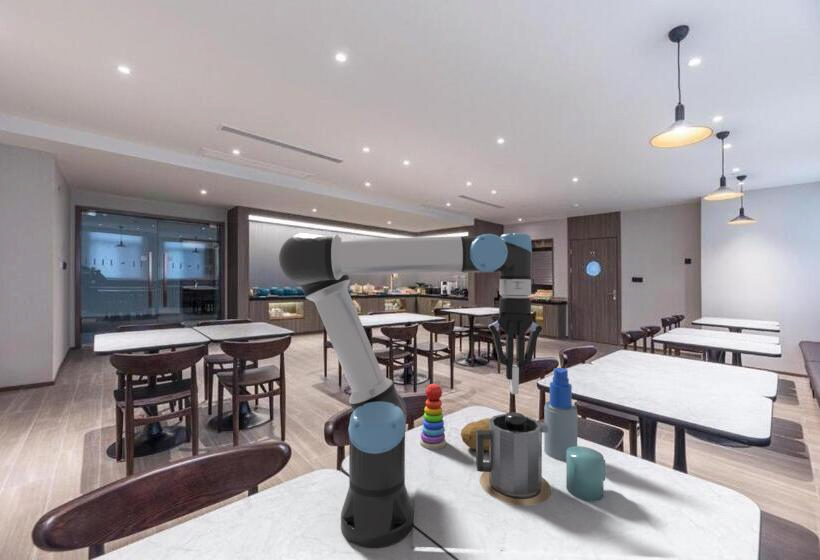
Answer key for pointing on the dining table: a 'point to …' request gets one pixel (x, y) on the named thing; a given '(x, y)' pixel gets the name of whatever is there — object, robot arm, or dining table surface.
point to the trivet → (536, 500)
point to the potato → (470, 433)
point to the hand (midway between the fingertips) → (514, 392)
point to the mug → (585, 473)
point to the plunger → (515, 421)
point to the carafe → (512, 457)
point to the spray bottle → (560, 417)
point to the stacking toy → (433, 420)
